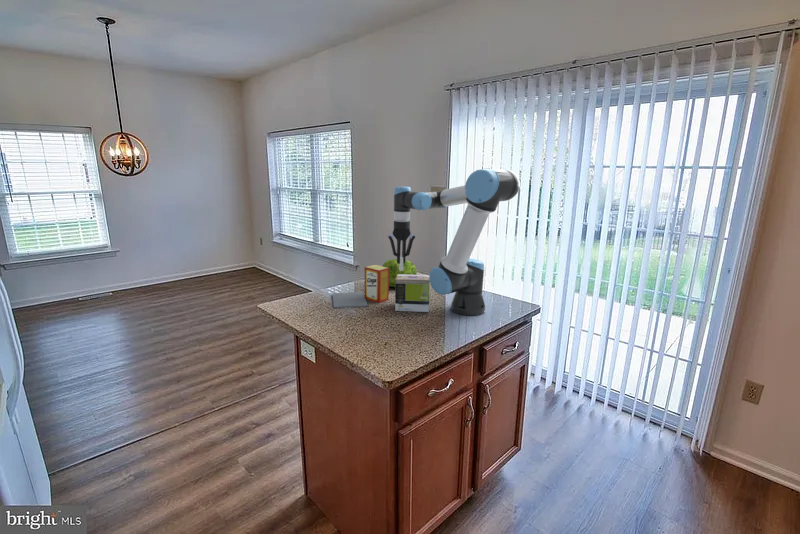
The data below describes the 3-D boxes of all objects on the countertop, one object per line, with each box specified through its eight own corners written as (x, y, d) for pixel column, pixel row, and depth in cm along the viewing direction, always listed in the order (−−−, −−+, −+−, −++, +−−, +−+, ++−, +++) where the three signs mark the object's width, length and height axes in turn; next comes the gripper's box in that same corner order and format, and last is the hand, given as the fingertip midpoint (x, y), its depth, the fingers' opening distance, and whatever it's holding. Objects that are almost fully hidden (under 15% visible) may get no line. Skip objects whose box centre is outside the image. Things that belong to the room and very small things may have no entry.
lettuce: (422, 289, 214) (423, 262, 215) (403, 286, 196) (405, 256, 197) (396, 289, 222) (398, 262, 223) (376, 286, 204) (378, 257, 205)
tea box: (429, 305, 181) (430, 274, 177) (428, 313, 171) (430, 280, 167) (396, 303, 182) (397, 272, 178) (394, 311, 172) (395, 278, 169)
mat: (367, 306, 177) (367, 305, 177) (334, 308, 174) (334, 306, 174) (362, 293, 196) (362, 291, 196) (332, 294, 193) (332, 293, 193)
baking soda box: (388, 299, 187) (388, 267, 183) (379, 303, 182) (379, 269, 179) (374, 295, 193) (374, 263, 189) (364, 298, 188) (364, 266, 185)
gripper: (413, 219, 186) (412, 267, 192) (386, 219, 184) (386, 268, 189) (417, 221, 179) (416, 271, 185) (389, 221, 176) (388, 272, 182)
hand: (400, 270), depth 187 cm, fingers closed
